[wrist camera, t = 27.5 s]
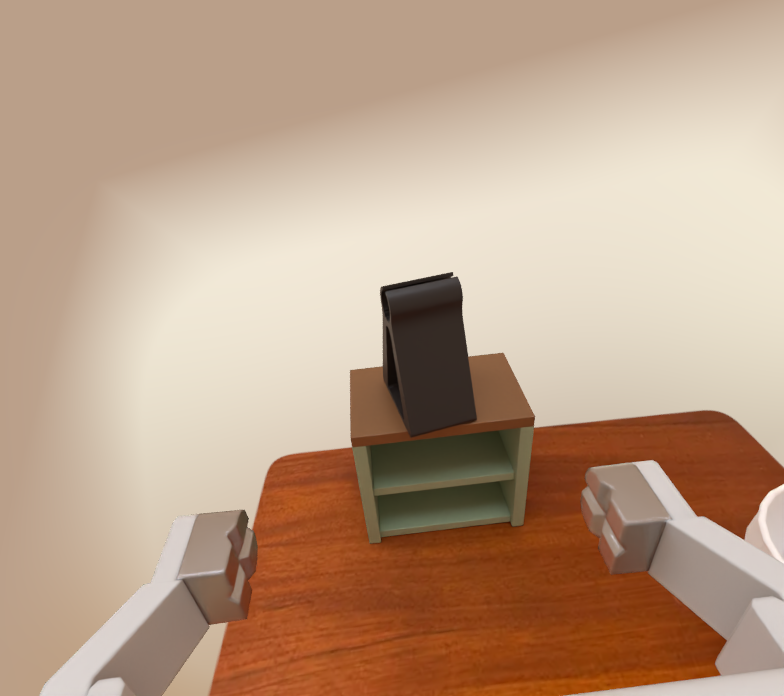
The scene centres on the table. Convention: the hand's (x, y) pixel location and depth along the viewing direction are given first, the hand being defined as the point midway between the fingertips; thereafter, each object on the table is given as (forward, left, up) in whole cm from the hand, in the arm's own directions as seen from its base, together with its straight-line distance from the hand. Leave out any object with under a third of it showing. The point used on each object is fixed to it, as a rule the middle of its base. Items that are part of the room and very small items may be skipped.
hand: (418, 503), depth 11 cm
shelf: (+4, +28, -34) cm, 44 cm away
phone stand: (+3, +26, -19) cm, 33 cm away
